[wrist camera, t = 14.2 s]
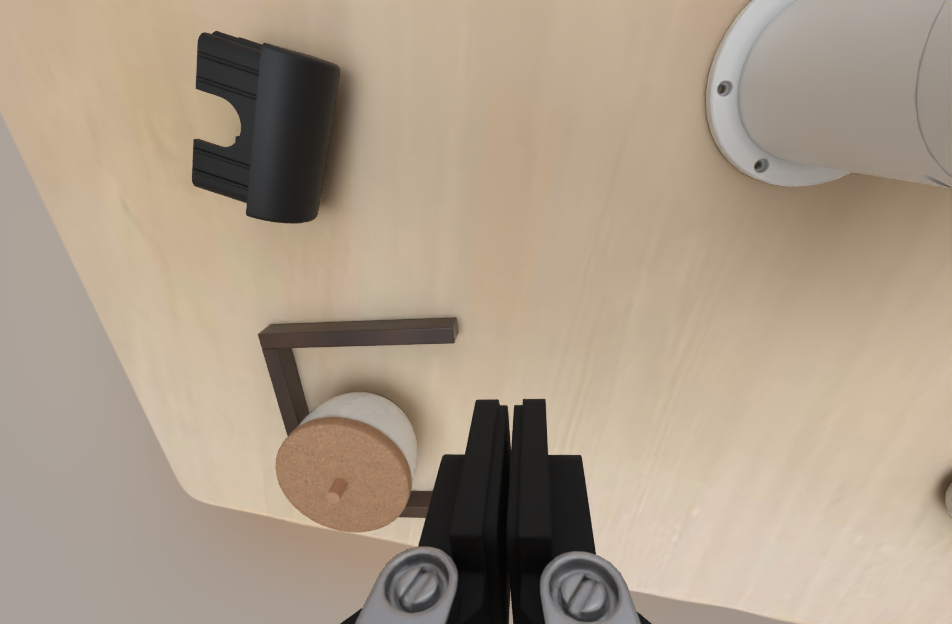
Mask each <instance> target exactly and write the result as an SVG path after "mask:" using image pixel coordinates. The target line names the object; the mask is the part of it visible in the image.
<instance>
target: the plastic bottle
mask: <svg viewBox="0 0 952 624" xmlns="http://www.w3.org/2000/svg"><path fill="white" fill-rule="evenodd" d="M945 502H946V508H947V512H948V514H949V515H950V517H951V518H952V483H951V484H950V485H949V487H948V489H947V491H946V494H945Z"/></svg>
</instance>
